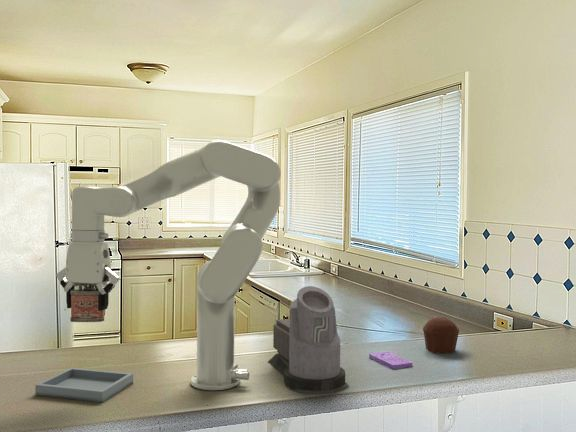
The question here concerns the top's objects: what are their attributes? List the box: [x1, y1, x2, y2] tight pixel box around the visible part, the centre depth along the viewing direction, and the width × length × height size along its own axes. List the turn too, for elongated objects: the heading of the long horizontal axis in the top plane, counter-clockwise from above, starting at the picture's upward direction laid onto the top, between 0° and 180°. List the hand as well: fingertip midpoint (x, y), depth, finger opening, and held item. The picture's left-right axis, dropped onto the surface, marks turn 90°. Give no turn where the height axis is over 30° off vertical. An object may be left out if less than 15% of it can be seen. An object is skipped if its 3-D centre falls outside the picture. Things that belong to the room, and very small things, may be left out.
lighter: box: [69, 283, 105, 323], centre depth 138 cm, size 8×3×10 cm, turn 94°
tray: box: [34, 367, 134, 404], centre depth 139 cm, size 18×14×2 cm
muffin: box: [422, 316, 460, 355], centre depth 179 cm, size 12×11×10 cm
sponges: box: [368, 350, 414, 370], centre depth 165 cm, size 7×13×2 cm, turn 25°
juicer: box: [267, 285, 350, 395], centre depth 152 cm, size 30×16×24 cm, turn 21°
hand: (87, 308), depth 138 cm, fingers closed on lighter, 8 cm apart
